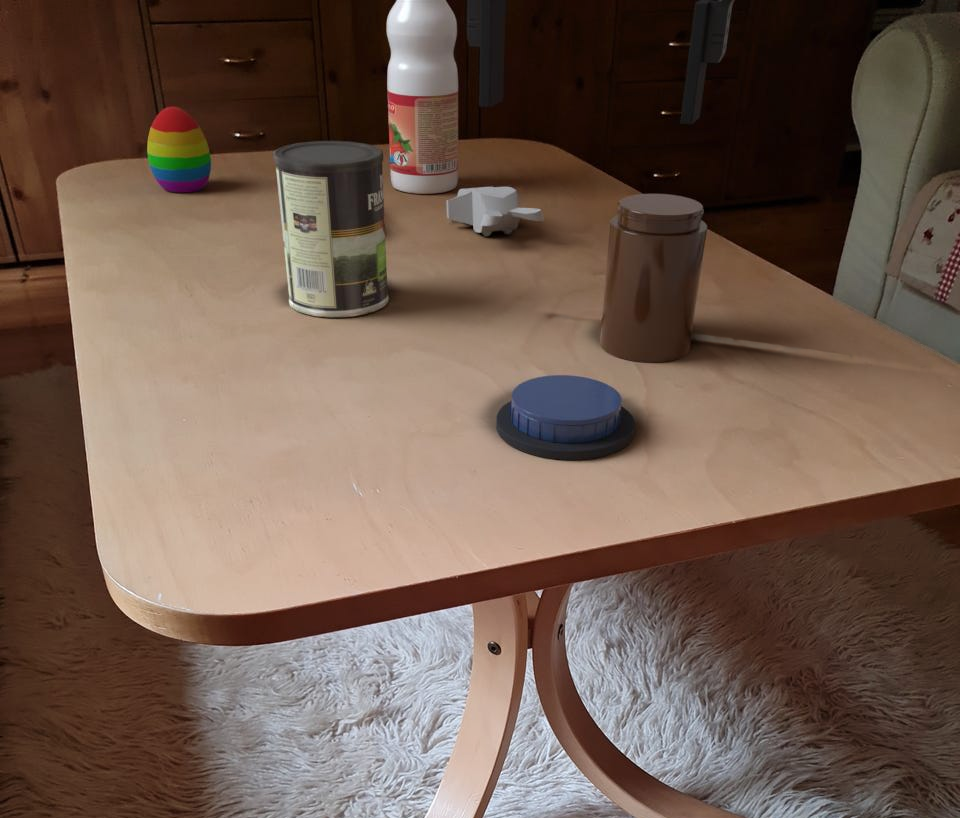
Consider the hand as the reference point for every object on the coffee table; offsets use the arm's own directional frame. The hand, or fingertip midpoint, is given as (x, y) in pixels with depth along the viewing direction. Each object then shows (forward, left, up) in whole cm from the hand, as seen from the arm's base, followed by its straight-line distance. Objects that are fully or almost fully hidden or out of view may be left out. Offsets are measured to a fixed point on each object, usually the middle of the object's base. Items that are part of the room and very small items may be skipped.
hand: (587, 112), depth 67 cm
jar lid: (0, 0, -20) cm, 20 cm away
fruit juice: (+40, -67, -23) cm, 81 cm away
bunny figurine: (+24, -50, -23) cm, 60 cm away
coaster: (0, 0, -23) cm, 23 cm away
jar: (-2, -20, -23) cm, 30 cm away
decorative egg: (+70, -53, -23) cm, 91 cm away
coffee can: (+30, -20, -23) cm, 43 cm away
